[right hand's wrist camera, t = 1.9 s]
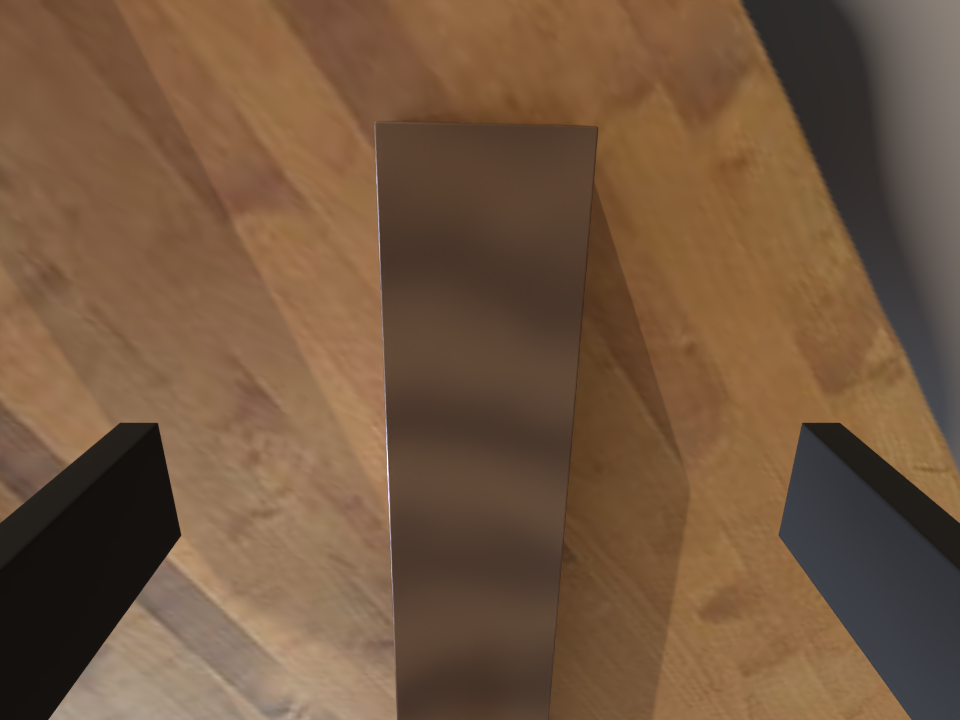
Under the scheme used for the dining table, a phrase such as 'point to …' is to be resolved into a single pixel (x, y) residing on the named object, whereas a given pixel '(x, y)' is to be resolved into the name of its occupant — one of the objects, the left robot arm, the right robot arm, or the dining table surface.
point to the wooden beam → (479, 402)
